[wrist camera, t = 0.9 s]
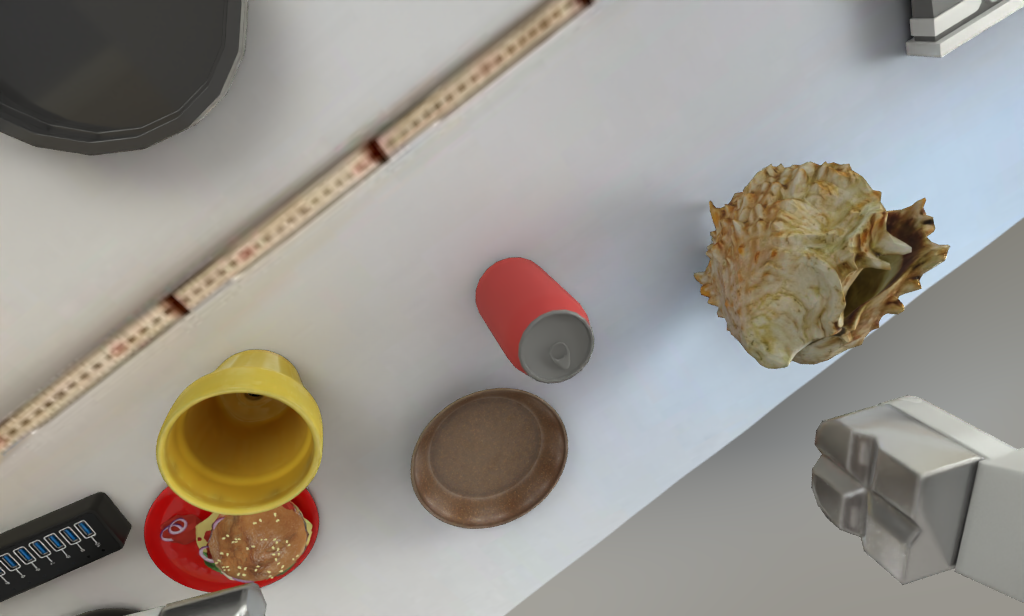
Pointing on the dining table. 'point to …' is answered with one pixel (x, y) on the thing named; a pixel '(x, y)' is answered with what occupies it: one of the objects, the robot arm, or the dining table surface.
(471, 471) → the saucer
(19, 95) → the pan
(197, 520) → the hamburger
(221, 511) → the flower pot
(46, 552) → the multiport hub
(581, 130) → the dining table surface
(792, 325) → the seashell
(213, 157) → the dining table surface
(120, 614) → the spray bottle
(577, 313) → the beer can
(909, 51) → the alarm clock
